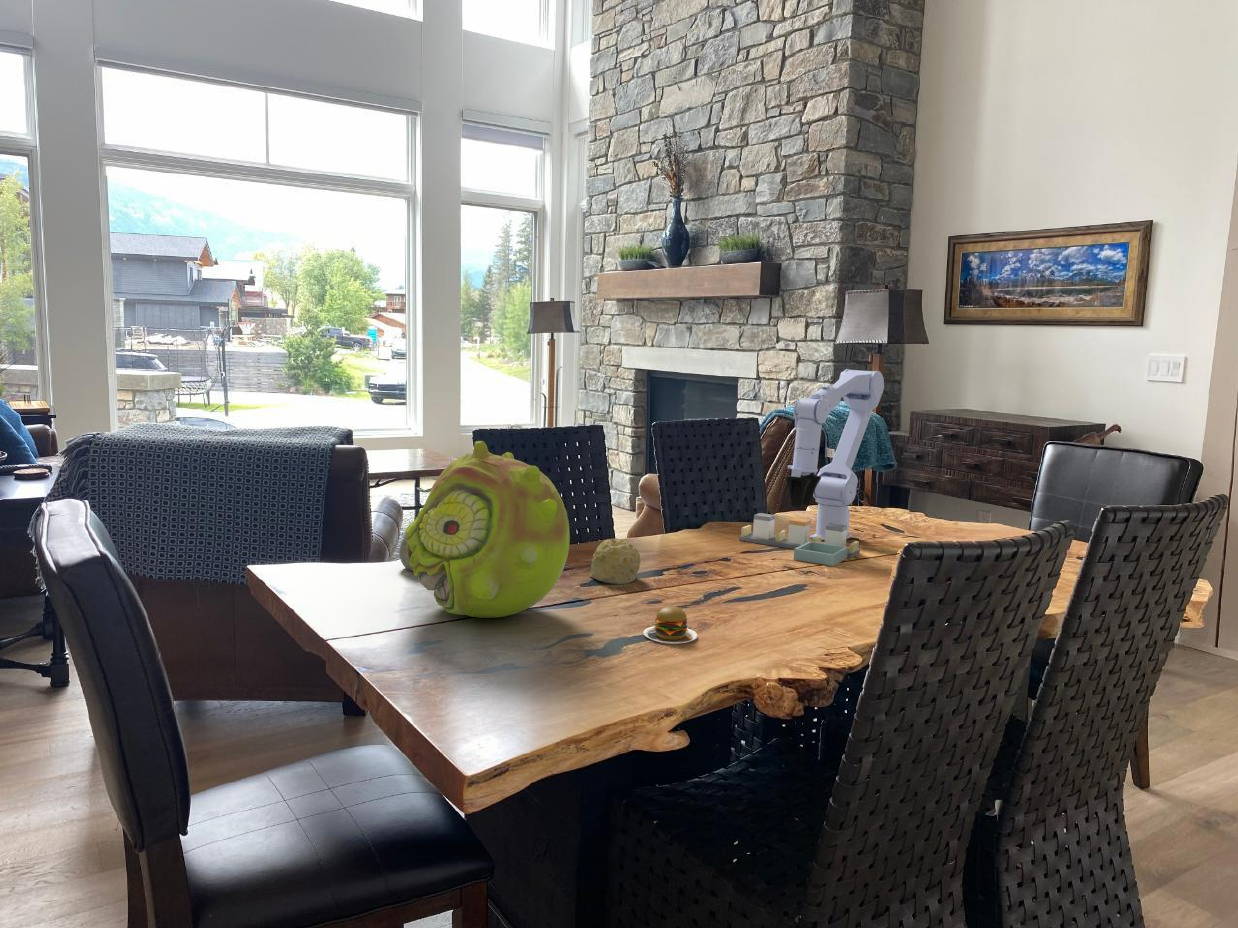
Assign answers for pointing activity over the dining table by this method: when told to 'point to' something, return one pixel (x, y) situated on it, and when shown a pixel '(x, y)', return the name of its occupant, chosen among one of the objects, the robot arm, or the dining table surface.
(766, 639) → the dining table surface
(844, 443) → the robot arm
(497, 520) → the monster head
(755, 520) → the block
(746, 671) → the dining table surface
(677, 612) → the hamburger
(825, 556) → the tray
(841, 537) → the block
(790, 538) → the block
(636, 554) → the rock
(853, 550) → the block
